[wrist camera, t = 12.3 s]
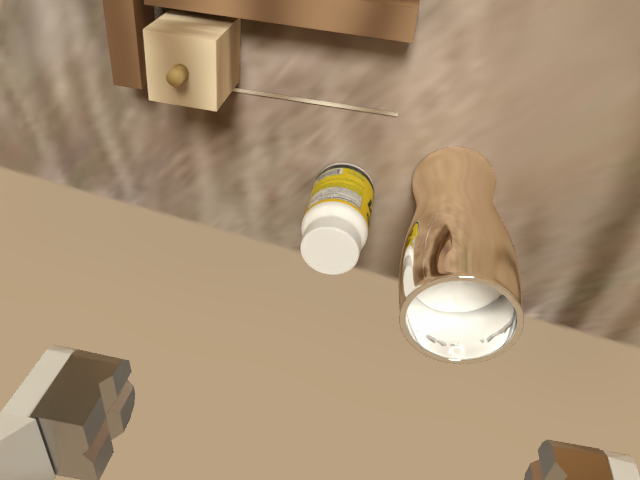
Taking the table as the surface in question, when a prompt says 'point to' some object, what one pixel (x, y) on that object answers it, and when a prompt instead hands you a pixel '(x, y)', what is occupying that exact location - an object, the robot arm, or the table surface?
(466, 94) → the table surface
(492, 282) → the beer glass
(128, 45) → the fence board
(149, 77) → the block
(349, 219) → the supplement bottle
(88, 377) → the robot arm
